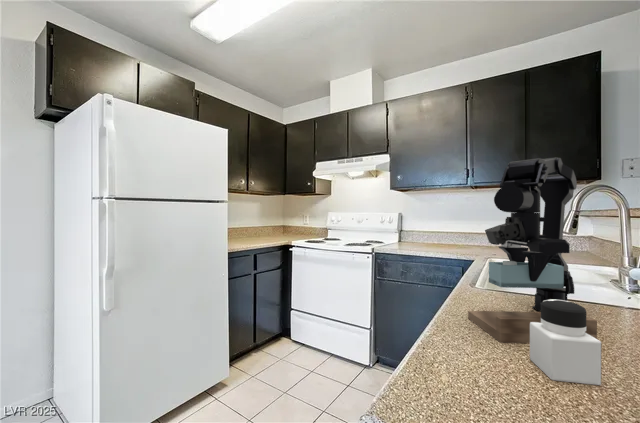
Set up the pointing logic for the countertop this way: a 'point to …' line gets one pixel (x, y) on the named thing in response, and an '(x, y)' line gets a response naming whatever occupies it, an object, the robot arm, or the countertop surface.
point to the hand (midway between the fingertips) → (525, 278)
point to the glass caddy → (524, 275)
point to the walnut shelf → (514, 324)
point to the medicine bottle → (565, 344)
